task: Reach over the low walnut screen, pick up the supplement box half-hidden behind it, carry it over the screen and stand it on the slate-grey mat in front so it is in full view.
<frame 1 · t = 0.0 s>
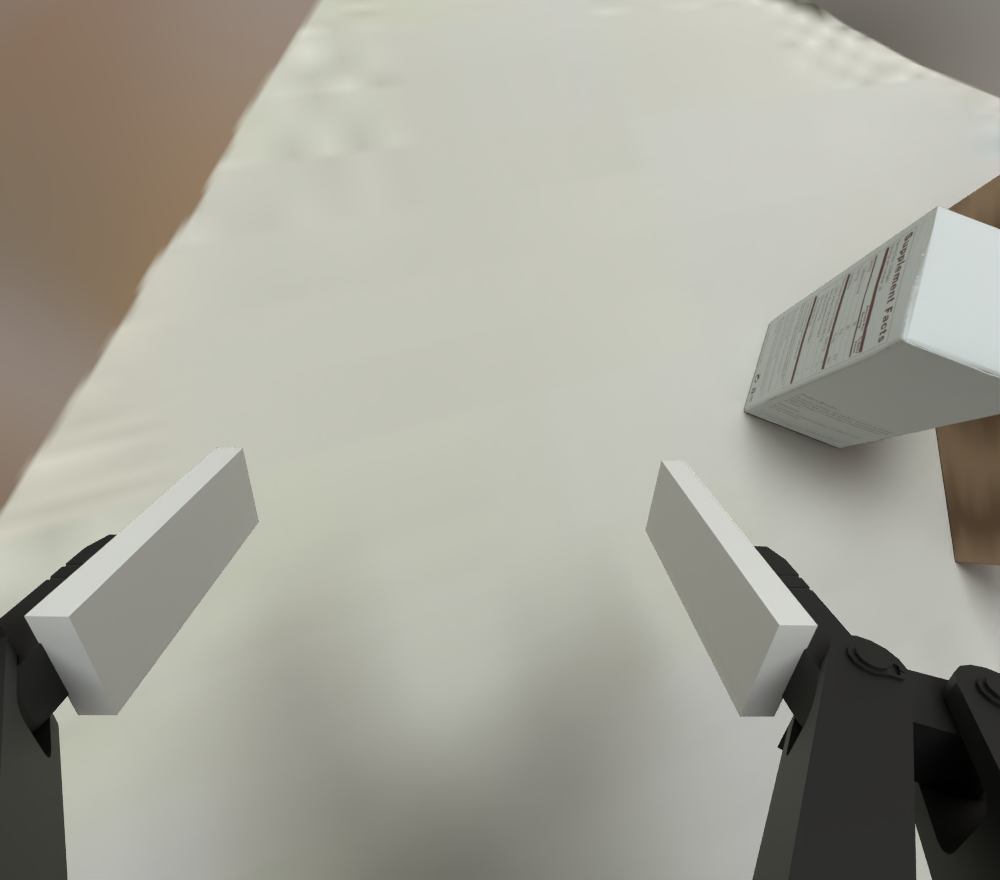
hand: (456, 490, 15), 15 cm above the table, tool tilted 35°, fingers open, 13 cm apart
walnut screen: (938, 388, 33), on the table
supplement box: (800, 384, 33), on the table
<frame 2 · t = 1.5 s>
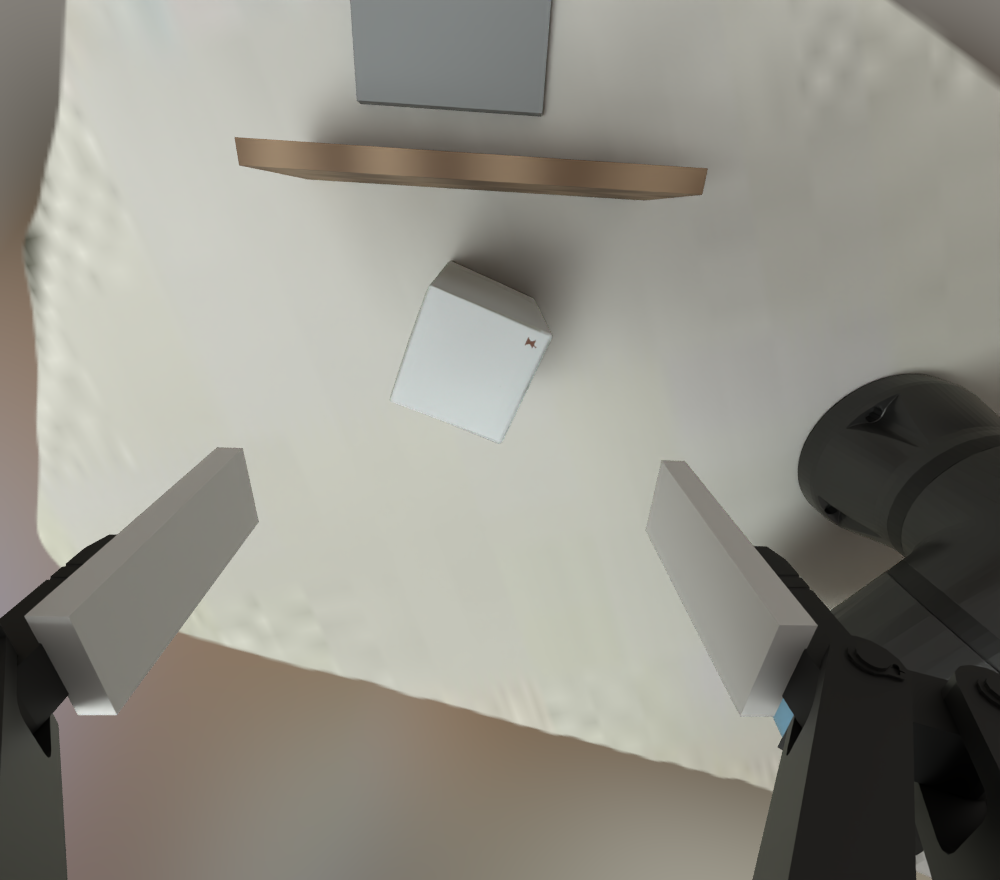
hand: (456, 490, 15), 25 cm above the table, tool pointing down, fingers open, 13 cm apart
walnut screen: (479, 180, 33), on the table
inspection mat: (452, 12, 29), on the table
supplement box: (475, 322, 37), on the table
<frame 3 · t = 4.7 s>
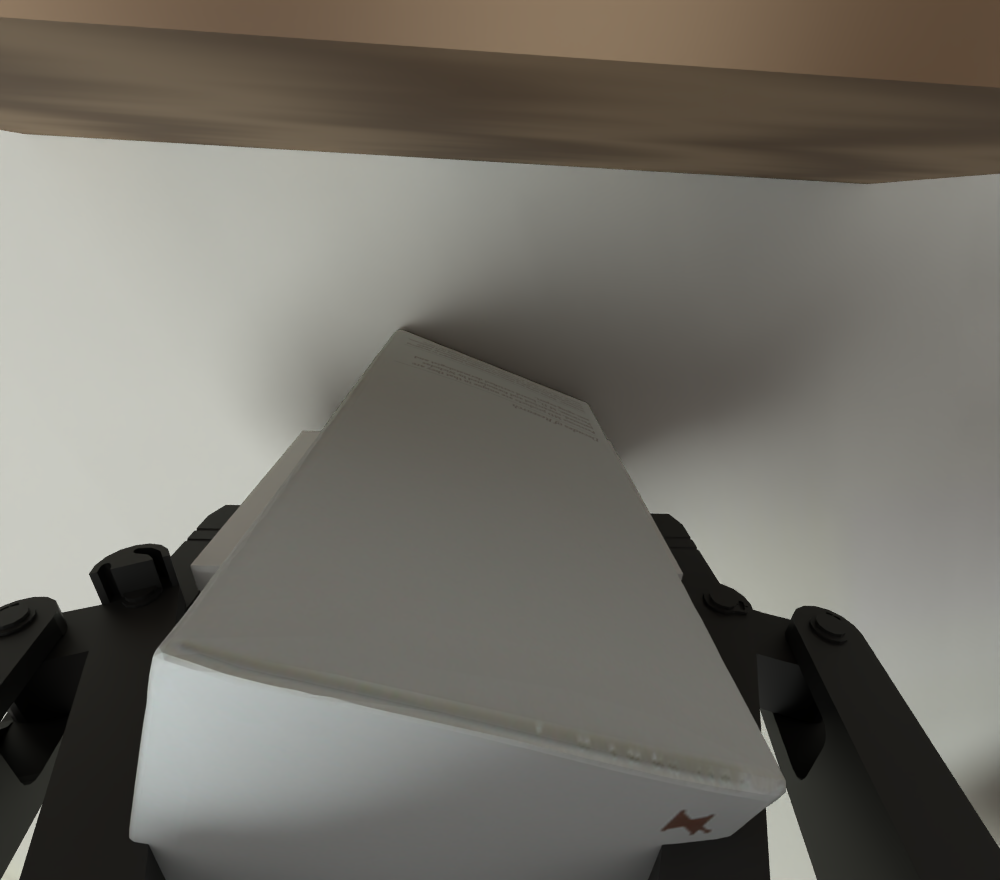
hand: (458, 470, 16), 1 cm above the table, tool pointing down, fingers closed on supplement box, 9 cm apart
walnut screen: (464, 135, 13), on the table
supplement box: (460, 449, 18), on the table, touching gripper
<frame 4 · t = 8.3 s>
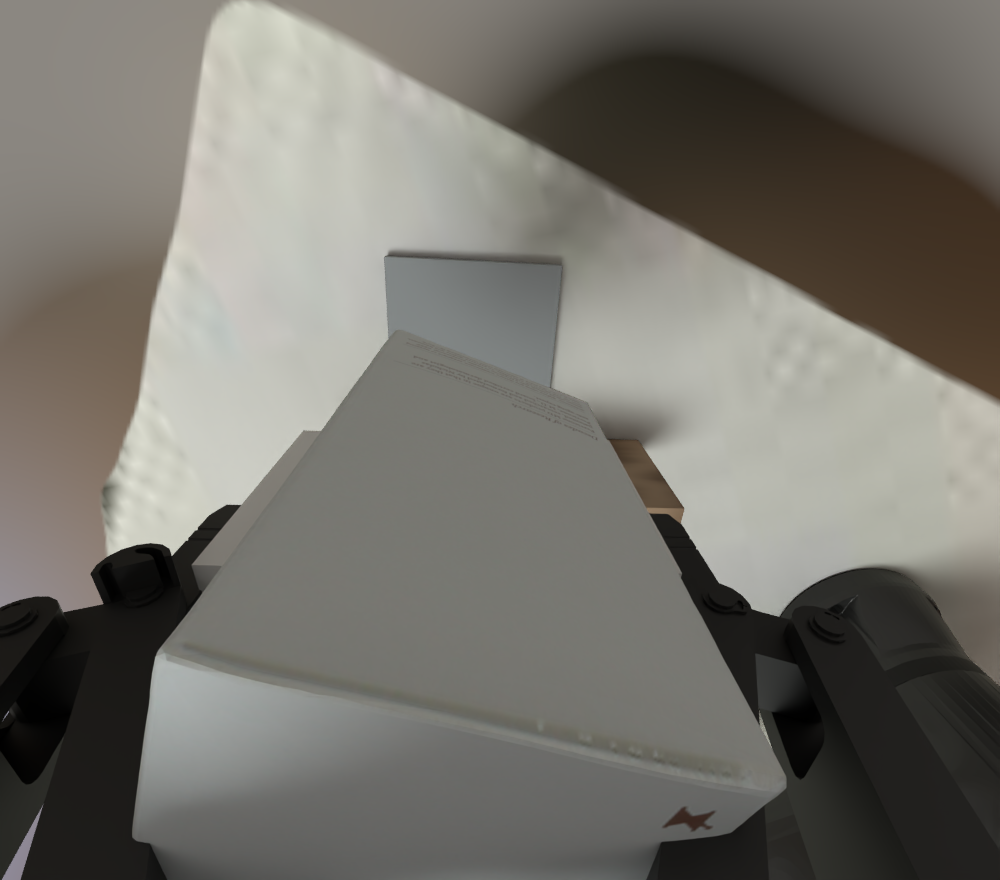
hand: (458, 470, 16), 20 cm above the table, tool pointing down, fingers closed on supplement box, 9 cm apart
walnut screen: (494, 441, 38), on the table
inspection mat: (472, 332, 34), on the table
supplement box: (459, 448, 18), point 19 cm above the table, touching gripper
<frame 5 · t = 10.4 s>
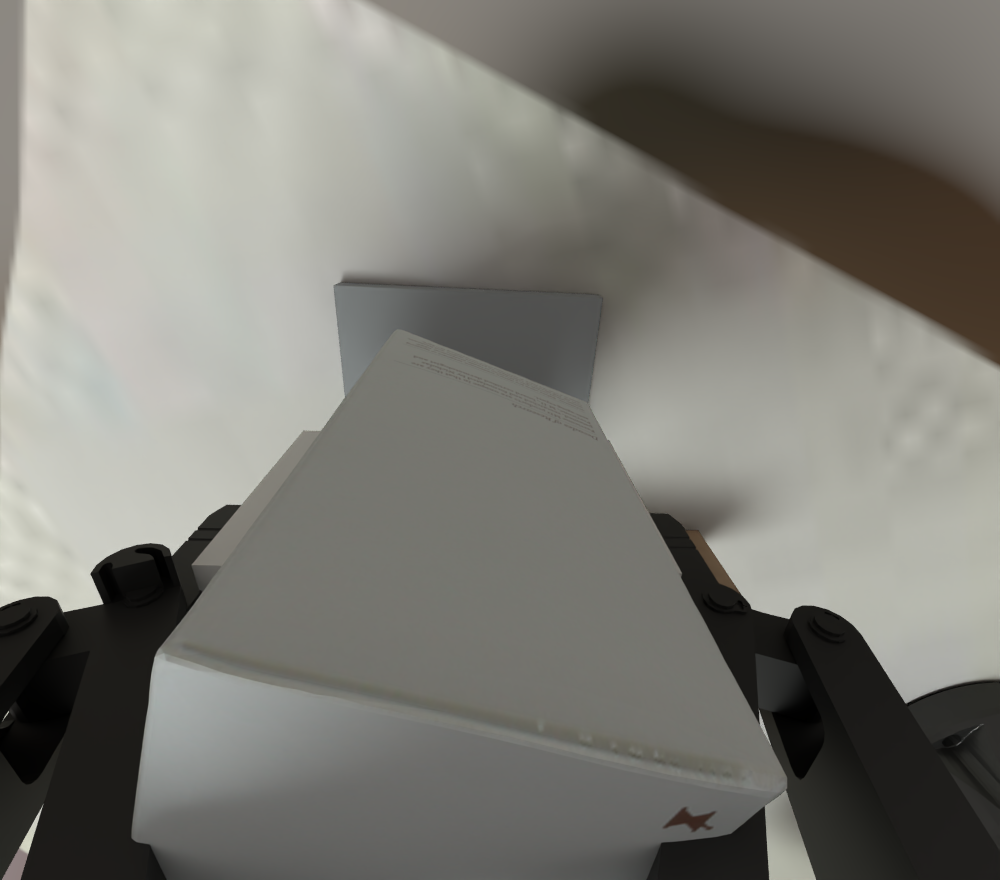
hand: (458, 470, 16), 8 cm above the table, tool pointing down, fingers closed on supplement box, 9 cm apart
walnut screen: (499, 533, 28), on the table
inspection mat: (468, 390, 24), on the table
supplement box: (459, 448, 18), point 7 cm above the table, touching gripper
when the fingers open (4 cm above the table, at t = 12.3 s): supplement box drops 1 cm, resting on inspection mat.
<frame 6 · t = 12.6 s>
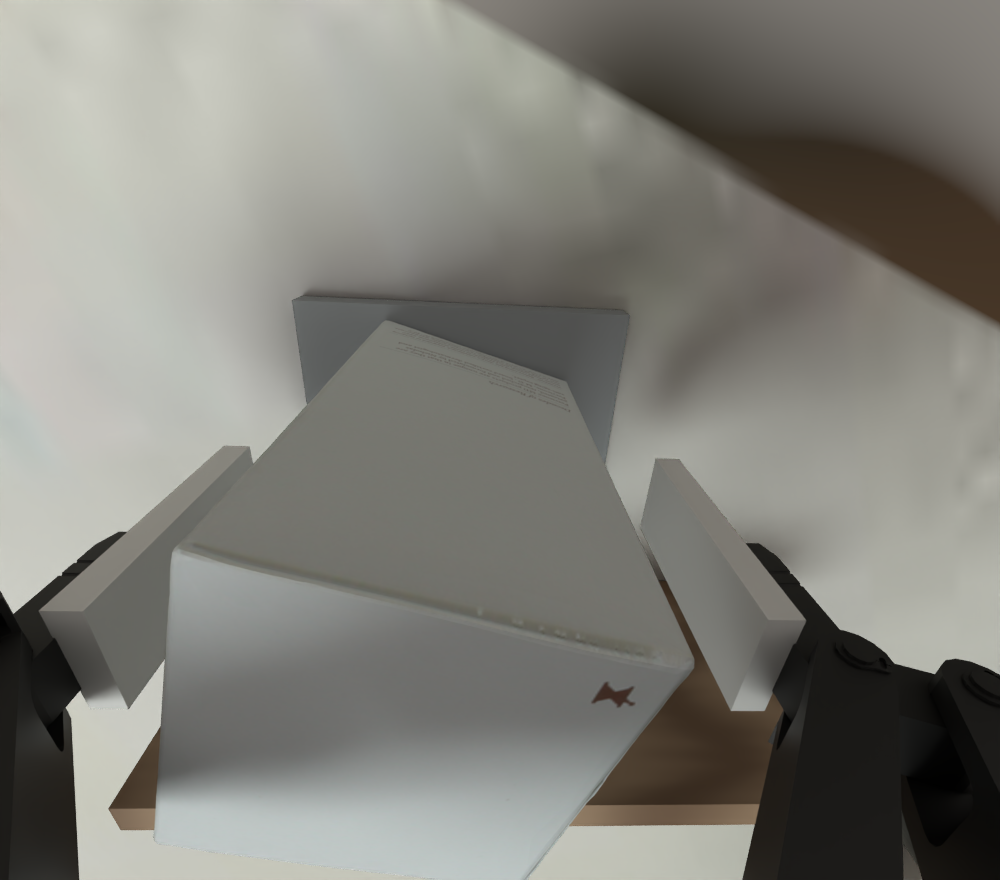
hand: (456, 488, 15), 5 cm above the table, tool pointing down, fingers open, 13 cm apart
walnut screen: (500, 587, 24), on the table
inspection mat: (463, 424, 20), on the table
supplement box: (450, 430, 19), point 1 cm above the table, touching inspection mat
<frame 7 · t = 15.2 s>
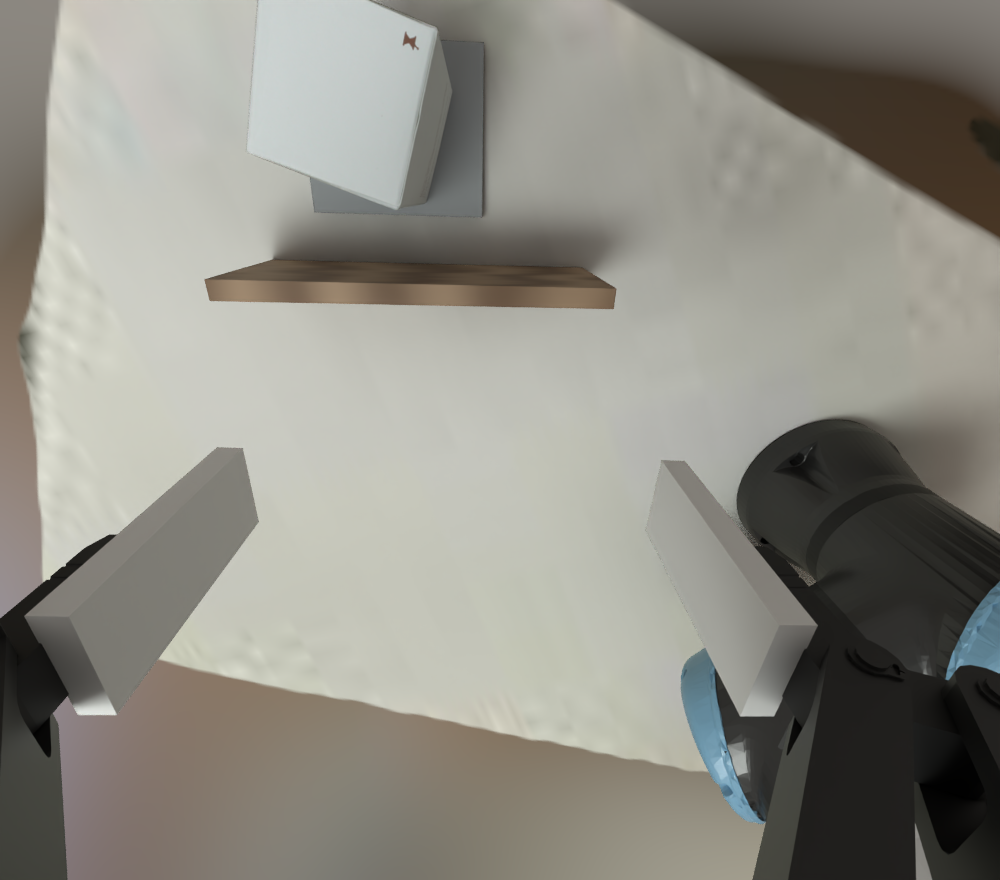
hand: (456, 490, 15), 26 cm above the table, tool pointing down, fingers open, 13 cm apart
walnut screen: (430, 271, 36), on the table
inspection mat: (396, 134, 32), on the table
supplement box: (387, 131, 31), point 1 cm above the table, touching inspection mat
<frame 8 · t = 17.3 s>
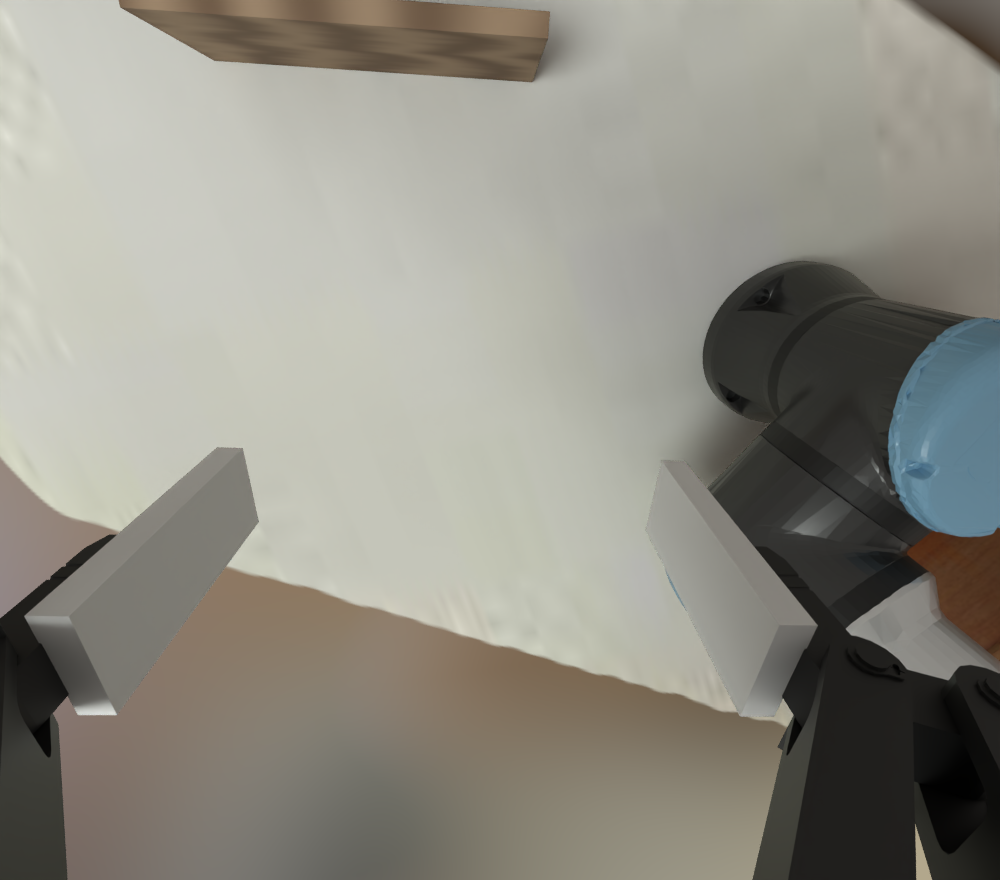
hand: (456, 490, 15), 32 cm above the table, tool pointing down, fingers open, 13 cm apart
walnut screen: (375, 61, 35), on the table
wooden box: (941, 558, 59), on the table
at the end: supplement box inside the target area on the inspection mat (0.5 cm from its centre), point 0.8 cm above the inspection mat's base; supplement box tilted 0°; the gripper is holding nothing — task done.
